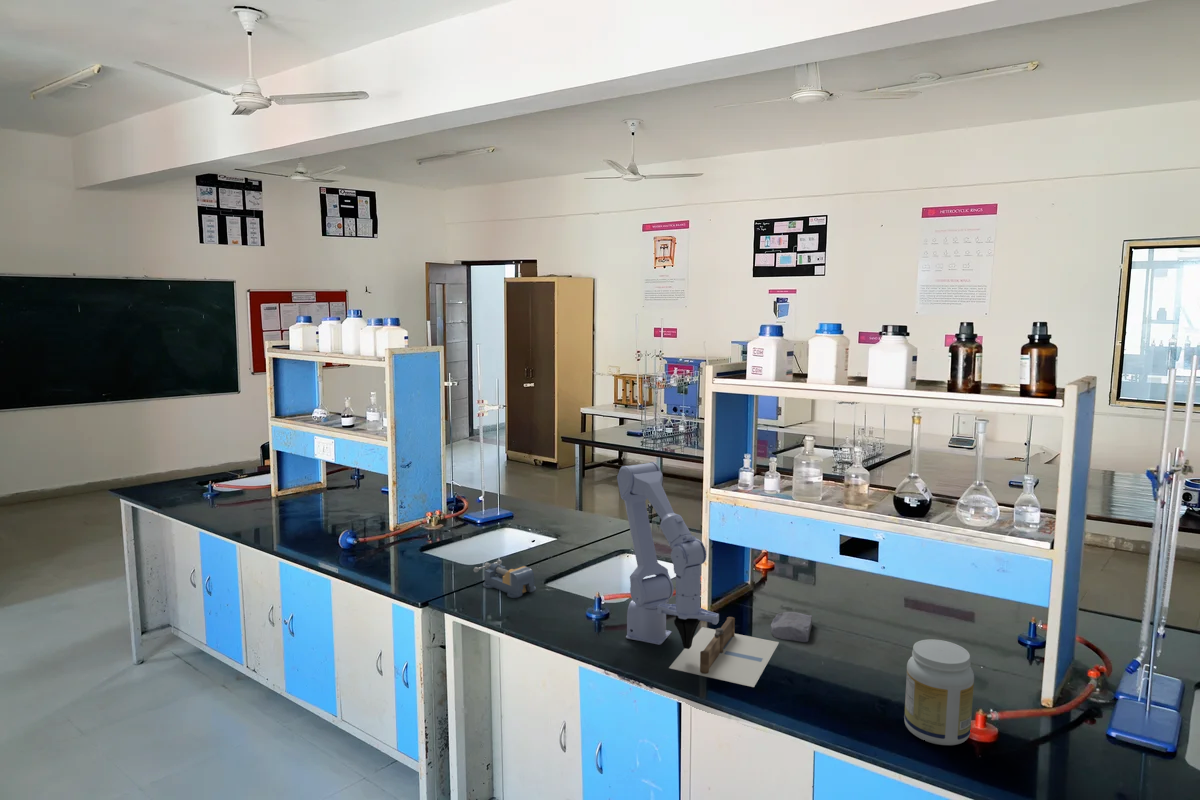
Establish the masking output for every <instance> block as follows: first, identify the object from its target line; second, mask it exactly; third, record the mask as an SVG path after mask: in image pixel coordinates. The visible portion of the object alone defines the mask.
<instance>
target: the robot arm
mask: <svg viewBox="0 0 1200 800" xmlns="http://www.w3.org/2000/svg"><path fill="white" fill-rule="evenodd" d="M616 480H617V485H618V491H619V494H620V498H621V500H623V502H624V505H625V511H626V516H627V520H628V526H629V530H630V535H631V541H632V545H633V550H634V555H635V559H636V565H637V567H636V568H635V569H634V570H633V572H632V573H631V574H630V575H629V581H630V584H629V585H630V587H629V591H630V593H629V594H630V598H631V599H632V600H630V601H629V604H628V607H627V613H626V636H625V638H626V639H628V640H633V641H640V642H644V643H648V644H649V643H650V644H652V645H653V644H655V645H660V646H661V645H662V644H663V643H664V642H665V641H666V639H667V638H668V637H669V636H670V635H671V634H672V632H673V631H671V630H667V615H669V616H670V615H671V616H675V619H674V620H673V623H674V626H675V627H676V629H677V631H678V633H679V636H680V639H681V642H682V647H683V649H685V648H686V649H689V648H690V647H691V646H692V641H693V638H694V636H695V635H696V634H695V633H696V630H697V628H698V626H699V624H700V622H702V621H703V622H706V623H711V625H717V624H718V623H719V621H720V613H716V612H714V611H711V610H708V609H705V608H702V607H701V580H702V578H701V576H702V573H701V571H702V570H701V569H702V566H701V565H703V564H705V562H706V561H707V551H706V550H707V549H706V547H705V545H704V543H703V541H701V540H700V539H699V538H697V537H696V535H693V534H692V532H691V531H690V529H689V528H688V525H687V524H686V523H685V520H684V519H683V517H682V515H681V514H678V513H675V512H674V509H673V507H672V504H671V502H670V501H669V498H668V496H667V494H666V490H664V489H665V488H664V487H663V480H664V478H663V473H662V470H661V468H660V466H659V464H658V463H657V462H655V461H651V462H646V463H639V464H632V465H622V466H621V467H620V468H619V471H618V473H617V476H616ZM647 500H648V501H649V503H650V505H651V506H652V507H653V509H654V511H655V512H656V514H657V515H658V517H659V518H660V520H661V521H660V525H659V528H660V529H661V532H662V534H663V536H664V537H665V539H666V541H667V543H668V545H669V547H670V549H671V552H670V559H671V562H672V564H673V565H672V566H673V572H674V574H675V586H674V583H673V581H672V579H671V577H670V575H669V570H668V568H667V567H665V566H664V565H662V564H660V563H659V561H658V557H657V552H656V546H655V543H654V542H655V541H654V538H653V533H652V528H651V524H650V519H649V514H648V508H647V504H646V501H647ZM654 575H655V576H654ZM674 587H675V588H674ZM674 590H675V603H670V602H669V601H670V599H672V597H673V595H674Z"/></svg>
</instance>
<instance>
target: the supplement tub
mask: <svg viewBox="0 0 1200 800" xmlns="http://www.w3.org/2000/svg"><path fill="white" fill-rule="evenodd" d="M971 663H972V662H971V654H970V653H969V651H968V650H967V649H966V648H964V647H963V646H961V645H959V644H956V643H954V642H951V641H946V640H943V639H942V640H941V639H934V638H933V639H921V640H919V641H916V642H914V644H913V647H912V651H911V656H910V658H909V659H908V661H907V663H906V677H905V679H906V681H905V695H904V696H905V701H904V715H903V718H904V724H905V727H906V729H907V730H908V731H909V732H910V733H911V734H912V735H914V736H915V737H917V738H919V739H921V740H923V741H924V740H925V742H927V743H931V744H934V745H938V746H939V745H940V746H956V745H960V744H962V743H965V741H967V740H968V739H969V737H970V735H971V732H970V730H971V731H972V713H973V700H974V685H975V674H974V671H973V668H972V667H971V666H972V664H971Z"/></svg>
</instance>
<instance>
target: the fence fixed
mask: <svg viewBox="0 0 1200 800" xmlns="http://www.w3.org/2000/svg"><path fill="white" fill-rule="evenodd" d="M735 619H736V618H735V617H733V616H728V617H726V620H725V622H724V623H723V624H722V625H721V627H720V628H722V629H723V634H721V635H719V636H720V653H723V648H724V647H725V646H726V644H727V643H728V641H729V640H730V638H731V637H734V633H735V629H736V628H735V627H736V625H735V623H736V620H735ZM735 634H736V633H735Z"/></svg>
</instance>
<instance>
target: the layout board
mask: <svg viewBox="0 0 1200 800" xmlns="http://www.w3.org/2000/svg"><path fill="white" fill-rule="evenodd" d="M715 633H716V628H715V629H714V628H709V627H701V628H699V630H698V631H697V632H696V634H694V637H693V641H692V646H691V647H690V648H689V649H686V648H683V650H682V651H681V652H680V654H679V655H678V656H677V657H676V658H675V660H674V661H673V662H672V663H671V665H670V666H669V667H668V669H671V670H676V671H679V672H684V673H688V674H693V675H698V676H701V677H706V678H710V679H714V680H719V681H725V682H729V683H733V684H737V685H742V686H747V687H751V688H755V686H756V685H757V683H758V681H759V679H760V677H761V676H762V674H763V672H764V671H765V668H766V666H767V665H768V663H769V662H770V660H771V658H772V656H773V655H774V653H775V651H776V649H777V647H778V645H779V644H780V642H779V641H775V640H770V639H765V638H764V639H763V638H760V637H755V636H750V635H746V634H745V635H743V634H739V633H734V637H731V638H730V640H729V641H728V643H727V644H726V646H725V647H724V648H723V653H720V654H719V655H718V657H717V658H716V660H715V661H714V662H713V664H712V665H711V667H710V668H709V672H708V673H701V672H700V652H701V651H704V649H705V648H706V647H707V645H708V644H709V643H710V641H711V640H712V639H713V637H714V636H715Z"/></svg>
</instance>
